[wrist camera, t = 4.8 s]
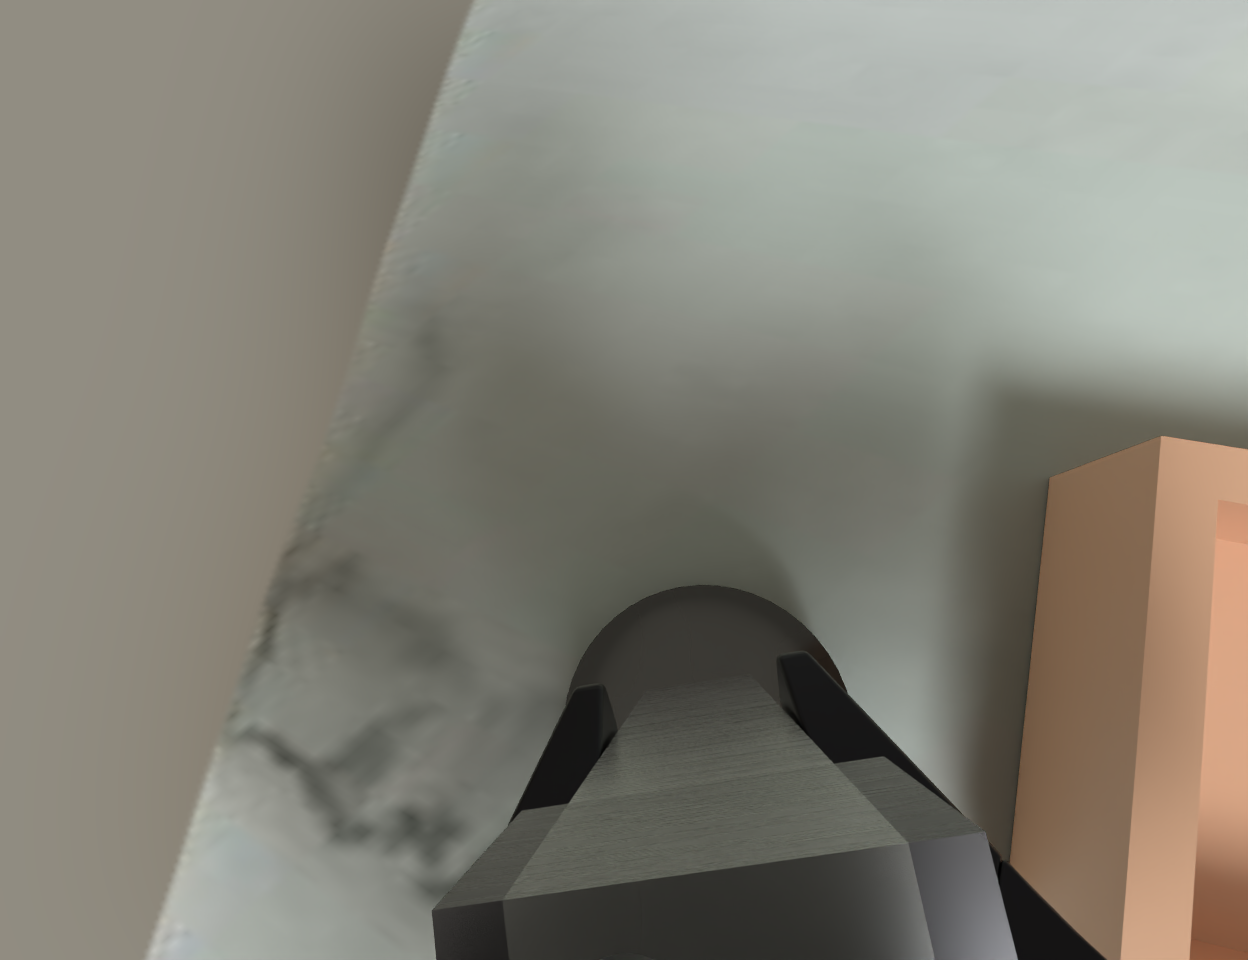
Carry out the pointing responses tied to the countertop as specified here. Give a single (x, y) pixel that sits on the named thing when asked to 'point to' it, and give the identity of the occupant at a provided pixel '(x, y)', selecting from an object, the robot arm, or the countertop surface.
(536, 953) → the grey stamp
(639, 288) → the countertop surface
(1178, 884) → the peach square open box
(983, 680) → the countertop surface
